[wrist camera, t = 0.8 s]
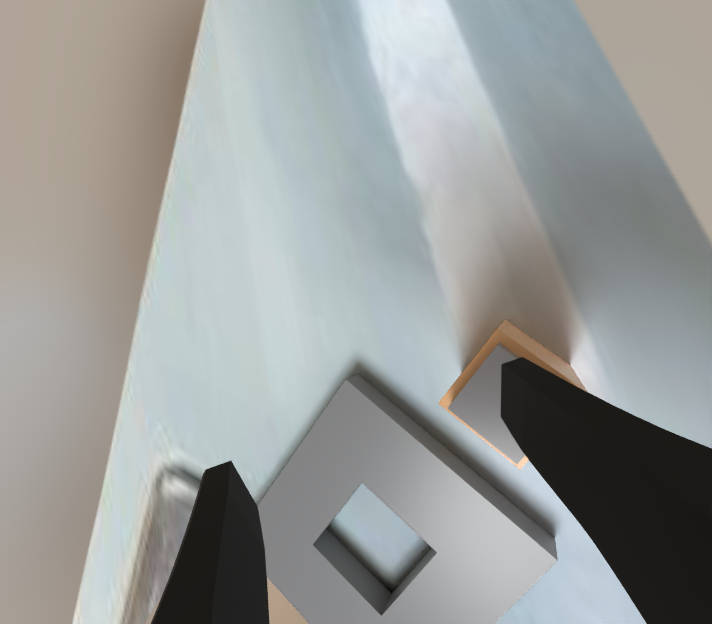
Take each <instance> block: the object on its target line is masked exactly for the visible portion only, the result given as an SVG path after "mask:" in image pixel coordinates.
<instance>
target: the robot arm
mask: <svg viewBox="0 0 712 624" xmlns="http://www.w3.org/2000/svg"><path fill="white" fill-rule="evenodd" d="M501 418H502V420H503V421H504V423H505V425H506V426H507V428H508V430H509V431H510V433H511V435H512V436H513V438H514V439H515V441H516V443H517V444H518V446H519V447H520V449H521V450H522V452H523V453H524V454H525V455H526V457H527V458H528V459H529V461H530V462H531V463H532V464H533V466H534V467H535V468H536V469H537V471H538V472H539V473H540V475H541V476H542V477H543V478H544V480H545V481H546V482H547V483H548V484H549V486H550V487H551V488H552V489H553V491H554V492H555V493H556V494H557V496H558V497H559V498H560V499H561V501H562V502H563V503H564V504H565V506H566V507H567V508H568V509H569V511H570V512H571V513H572V514H573V516H574V517H575V518H576V519H577V521H578V522H579V523H580V524H581V526H582V527H583V528H584V530H585V531H586V532H587V534H588V535H589V536H590V538H591V539H592V540H593V542H594V543H595V545H596V546H597V548H598V549H599V551H600V552H601V554H602V555H603V557H604V558H605V560H606V561H607V563H608V564H609V566H610V567H611V569H612V570H613V572H614V573H615V575H616V576H617V578H618V579H619V581H620V582H621V584H622V586H623V587H624V589H625V590H626V592H627V593H628V595H629V596H630V598H631V600H632V601H633V603H634V604H635V606H636V607H637V609H638V611H639V612H640V614H641V615H642V617H643V618H644V620H645V622H646V623H647V624H712V449H711V448H709V447H706V446H704V445H701V444H699V443H696V442H694V441H691V440H689V439H686V438H684V437H681V436H679V435H676V434H674V433H672V432H669V431H667V430H665V429H662V428H660V427H658V426H656V425H654V424H651V423H649V422H647V421H645V420H643V419H641V418H638V417H636V416H634V415H632V414H630V413H628V412H626V411H624V410H622V409H619V408H617V407H615V406H613V405H611V404H609V403H607V402H605V401H603V400H602V399H600V398H598V397H596V396H594V395H592V394H590V393H588V392H586V391H584V390H582V389H580V388H579V387H577V386H575V385H573V384H571V383H569V382H568V381H566V380H564V379H562V378H560V377H558V376H557V375H555V374H553V373H551V372H549V371H547V370H546V369H544V368H542V367H540V366H538V365H537V364H535V363H533V362H531V361H529V360H527V359H526V358H524V357H520V358H517V359H515V360H512V361H509V362H506V363H503V364H501ZM151 624H269V610H268V592H267V574H266V558H265V547H264V541H263V534H262V528H261V522H260V517H259V511H258V507H257V505H256V503H255V502H254V500H253V498H252V496H251V495H250V493H249V491H248V489H247V488H246V486H245V484H244V482H243V481H242V479H241V477H240V475H239V474H238V472H237V470H236V468H235V467H234V465H233V463H232V461H229V462H226V463H223V464H220V465H217V466H215V467H212V468H209V469H206V470H205V472H204V474H203V476H202V480H201V483H200V487H199V490H198V494H197V497H196V501H195V504H194V507H193V510H192V514H191V517H190V520H189V523H188V526H187V529H186V532H185V535H184V538H183V541H182V544H181V547H180V549H179V552H178V555H177V558H176V561H175V564H174V566H173V569H172V572H171V575H170V577H169V580H168V582H167V585H166V587H165V590H164V592H163V595H162V597H161V600H160V602H159V605H158V608H157V610H156V612H155V615H154V617H153V620H152V622H151Z"/></svg>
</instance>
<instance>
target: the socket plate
mask: <svg viewBox="0 0 712 624" xmlns="http://www.w3.org/2000/svg"><path fill="white" fill-rule="evenodd" d="M361 483H363V484H364V485H365V486H366V487H367V488H368V489H370V490H371V491H372V492H373V493H374V494H375V495H376V496H377V497H378V498H379V499H380V500H381V501H382V502H383V503H385V504H386V505H387V506H388V507H389V508H390V509H391V510H392V511H393V512H394V513H395V514H396V515H397V516H398V517H400V518H401V519H402V520H403V521H404V522H405V523H406V524H407V525H408V526H409V527H410V528H411V529H412V530H413V531H415V532H416V533H417V534H418V535H419V536H420V537H421V538H422V539H423V540H424V541H425V542H426V543H427V544H428V545H430V546H431V547H432V548H431V549H430V550H429V551H428V553H427V554H426V555H425V556H424V557H423V558H422V559H421V561H420V562H419V563H418V564H417V565H416V566H415V567H414V569H413V570H412V571H411V572H410V573H409V574H408V575H407V577H406V578H405V579H404V580H403V581H402V582H401V584H400V585H399V586H398V587H397V588H396V589H395V590H394V592H393V593H392V594H391V593H390V592H389V591H388V590H387V589H386V588H385V587H384V585H383V584H382V583H381V582H380V581H379V580H378V579H377V578H376V577H375V576H374V575H373V574H372V573H371V572H370V571H369V570H368V569H367V568H366V567H365V566H364V565H363V564H362V563H361V562H360V561H359V560H358V559H357V558H356V557H355V556H354V555H353V554H352V553H351V552H350V551H349V550H348V549H347V548H346V547H345V546H344V545H343V544H342V543H341V542H340V541H339V540H338V539H337V538H336V537H335V536H334V535H333V534H332V533H331V532H330V531H329V530H328V529H327V527H328V526H329V525H330V524H331V522H332V521H333V520H334V518H335V517H336V516H337V514H338V513H339V512H340V511H341V509H342V508H343V507H344V505H345V504H346V503H347V501H348V500H349V499H350V498H351V496H352V495H353V494H354V492H355V491H356V490H357V488H358V487H359V486H360V485H361ZM257 507H258V511H259V517H260V522H261V528H262V534H263V541H264V547H265V558H266V574H267V577H268V579H269V580H270V581H271V582H272V583H273V584H274V585H275V586H276V587H277V589H278V590H279V591H280V592H281V593H282V594H283V595H284V596H285V597H286V598H287V600H288V601H289V602H290V603H291V604H292V605H293V606H294V607H295V608H296V610H297V611H298V612H299V613H300V614H301V615H302V616H303V617H304V618H305V619H306V621H307V622H308V623H309V624H495V623H496V622H497V621H498V620H499V619H500V618H501V617H502V616H503V615H504V614H505V613H506V612H507V611H508V610H509V609H510V608H511V607H512V606H513V605H514V604H515V603H516V602H517V601H518V600H519V599H520V598H521V597H522V596H523V595H524V594H525V593H526V592H527V591H528V590H529V589H530V588H531V587H532V586H533V585H534V584H535V583H536V582H537V581H538V580H539V579H540V578H541V577H542V576H543V575H544V574H545V573H546V572H547V570H548V569H549V568H550V567H551V566H552V565H553V564H554V563H555V562H556V561H557V552H556V543H555V539H554V538H553V537H552V536H551V535H550V534H548V533H547V532H546V531H545V530H544V529H543V528H541V527H540V526H539V525H538V524H537V523H535V522H534V521H533V520H532V519H531V518H529V517H528V516H527V515H526V514H525V513H523V512H522V511H521V510H520V509H519V508H518V507H516V506H515V505H514V504H513V503H512V502H510V501H509V500H508V499H507V498H506V497H504V496H503V495H502V494H501V493H500V492H498V491H497V490H496V489H495V488H494V487H493V486H491V485H490V484H489V483H488V482H487V481H485V480H484V479H483V478H482V477H481V476H479V475H478V474H477V473H476V472H475V471H473V470H472V469H471V468H470V467H469V466H467V465H466V464H465V463H464V462H463V461H462V460H460V459H459V458H458V457H457V456H456V455H454V454H453V453H452V452H451V451H450V450H448V449H447V448H446V447H445V446H444V445H442V444H441V443H440V442H439V441H438V440H437V439H435V438H434V437H433V436H432V435H431V434H429V433H428V432H427V431H426V430H425V429H423V428H422V427H421V426H420V425H419V424H417V423H416V422H415V421H414V420H413V419H412V418H410V417H409V416H408V415H407V414H406V413H404V412H403V411H402V410H401V409H400V408H398V407H397V406H396V405H395V404H394V403H392V402H391V401H390V400H389V399H388V398H387V397H385V396H384V395H383V394H382V393H381V392H379V391H378V390H377V389H376V388H375V387H373V386H372V385H371V384H370V383H369V382H367V381H366V380H365V379H364V378H363V377H361V376H360V375H359V374H357V375H354V376H352V377H350V378H348V379H346V380H345V381H344V382H343V384H342V385H341V387H340V388H339V390H338V391H337V393H336V394H335V395H334V397H333V398H332V400H331V401H330V403H329V404H328V405H327V407H326V408H325V410H324V411H323V413H322V414H321V415H320V417H319V418H318V420H317V421H316V423H315V424H314V425H313V427H312V428H311V430H310V431H309V433H308V434H307V435H306V437H305V438H304V440H303V441H302V443H301V444H300V446H299V447H298V448H297V450H296V451H295V453H294V454H293V456H292V457H291V458H290V460H289V461H288V463H287V464H286V466H285V467H284V468H283V470H282V471H281V473H280V474H279V476H278V477H277V478H276V480H275V481H274V483H273V484H272V486H271V487H270V488H269V490H268V491H267V493H266V494H265V496H264V497H263V498H262V500H261V501H260V503H259V504H258V506H257Z"/></svg>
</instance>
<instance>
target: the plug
mask: <svg viewBox="0 0 712 624" xmlns="http://www.w3.org/2000/svg"><path fill="white" fill-rule="evenodd" d="M520 357H524V358H526V359H527V360H529V361H531V362H533V363H535V364H537V365H538V366H540V367H542V368H544V369H546V370H547V371H549V372H551V373H553V374H555V375H557V376H558V377H560V378H562V379H564V380H566V381H568V382H569V383H571V384H573V385H575V386H577V387H579V388H580V389H582V390H584V391H586V392H587V390H586V389H585V387H584V386H583V384H582V383H581V381H580V379H579V378H578V376H577V375H576V373H575V372H574V370H573V368H572V367H571V365H569V364H568V363H567V362H565V361H564V360H562V359H561V358H559V357H558V356H557V355H555V354H554V353H552V352H551V351H549V350H548V349H547V348H545V347H544V346H542V345H541V344H539V343H538V342H537V341H535V340H534V339H532V338H531V337H529V336H528V335H527V334H525V333H524V332H522V331H521V330H519V329H518V328H517V327H515V326H514V325H512V324H511V323H509V322H508V321H507V320H504V322H503V323H502V324H501V325H500V326H499V327H498V328H497V329H496V330H495V331H494V333H493V334H492V335H491V336H490V338H489V339H488V340H487V342H486V343H485V344H484V345H483V347H482V348H481V349H480V351H479V352H478V353H477V354H476V356H475V357H474V358H473V359H472V361H471V362H470V363H469V365H468V366H467V367H466V368H465V370H464V371H463V372H462V374H461V375H460V376H459V377H458V379H457V380H456V381H455V382H454V384H453V385H452V386H451V388H450V389H449V390H448V391H447V393H446V394H445V395H444V397H443V398H442V399H441V400H440V402H439V403H438V404H439V405H441V406H442V407H443V408H444V409H446V410H447V411H448V412H449V413H451V414H452V415H453V416H454V417H455V418H457V419H458V420H459V421H460V422H462V423H463V424H464V425H465V426H467V427H468V428H469V429H470V430H472V431H473V432H474V433H475V434H476V435H478V436H479V437H480V438H481V439H483V440H484V441H485V442H486V443H488V444H489V445H490V446H491V447H493V448H494V449H495V450H496V451H497V452H499V453H500V454H501V455H502V456H504V457H505V458H506V459H507V460H509V461H510V462H511V463H512V464H514V465H515V466H516V467H517V468H518V469H521V468H522V467H523V466H524V464H525V463H526V462H527V461H528V460H529V459H528V458H527V457H526V455H525V454H524V453H523V452H522V450H521V449H520V447H519V446H518V444H517V443H516V441H515V439H514V438H513V436H512V435H511V433H510V431H509V430H508V428H507V426H506V425H505V423H504V421H503V420H502V418H501V364H503V363H506V362H509V361H512V360H515V359H517V358H520Z"/></svg>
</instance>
